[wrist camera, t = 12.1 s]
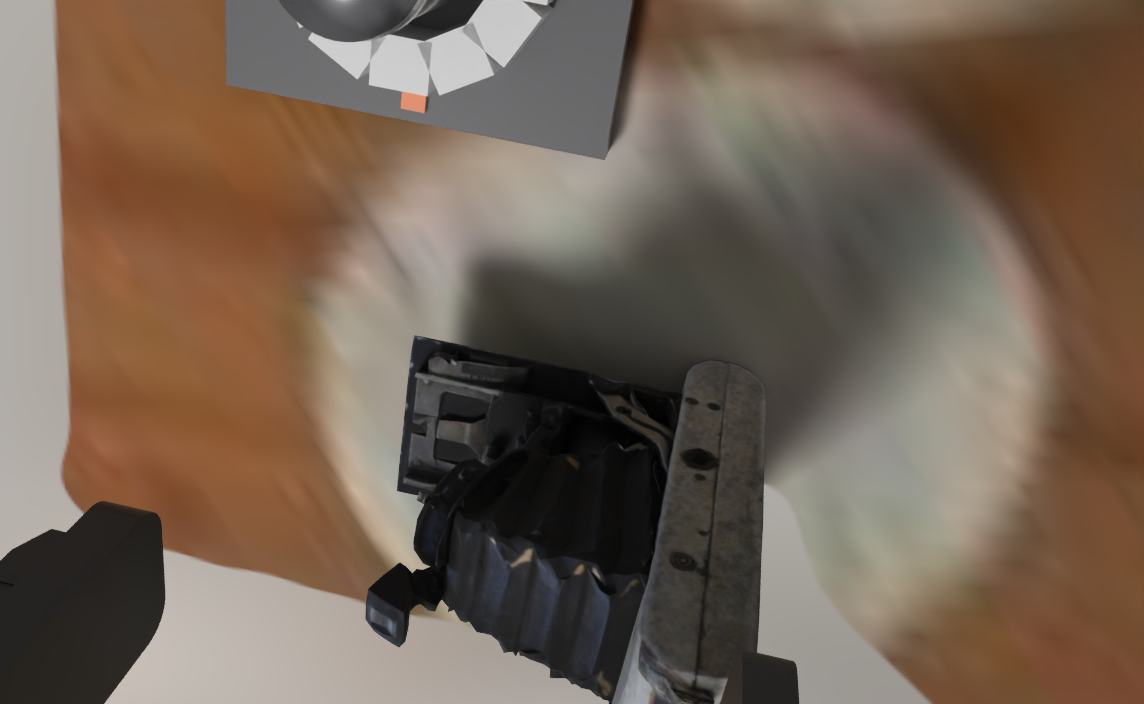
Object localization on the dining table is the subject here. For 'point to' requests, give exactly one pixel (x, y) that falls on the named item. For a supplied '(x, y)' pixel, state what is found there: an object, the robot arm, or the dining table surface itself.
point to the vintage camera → (585, 518)
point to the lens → (357, 16)
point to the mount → (453, 67)
